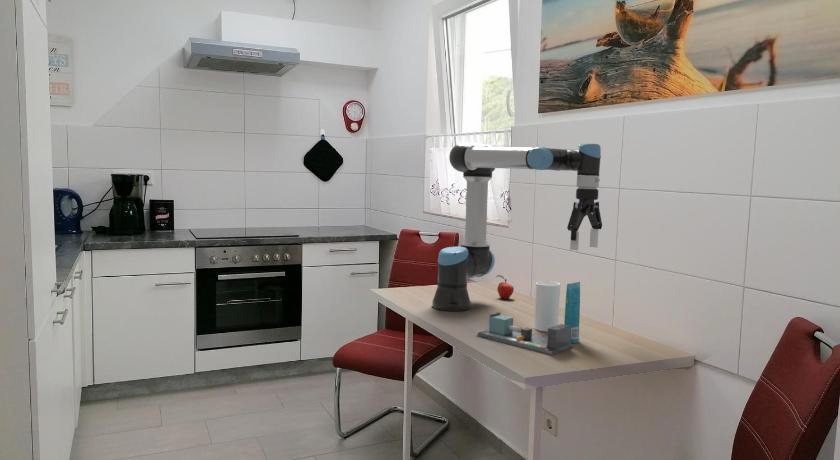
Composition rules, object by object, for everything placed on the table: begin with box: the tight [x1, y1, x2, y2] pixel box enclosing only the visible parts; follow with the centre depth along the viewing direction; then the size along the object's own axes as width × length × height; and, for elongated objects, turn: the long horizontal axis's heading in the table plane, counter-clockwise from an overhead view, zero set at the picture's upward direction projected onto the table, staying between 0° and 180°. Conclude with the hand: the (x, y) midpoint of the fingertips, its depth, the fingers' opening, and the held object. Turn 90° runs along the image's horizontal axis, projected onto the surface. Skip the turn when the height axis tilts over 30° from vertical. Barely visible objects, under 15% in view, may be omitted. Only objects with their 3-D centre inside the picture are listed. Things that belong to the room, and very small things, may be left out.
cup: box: [533, 280, 561, 333], centre depth 214 cm, size 8×8×16 cm
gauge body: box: [488, 311, 524, 335], centre depth 202 cm, size 11×5×6 cm, turn 47°
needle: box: [516, 327, 533, 341], centre depth 196 cm, size 2×7×3 cm, turn 137°
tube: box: [563, 281, 581, 344], centre depth 199 cm, size 7×5×19 cm, turn 140°
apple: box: [495, 274, 515, 300], centre depth 263 cm, size 8×7×10 cm
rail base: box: [477, 323, 573, 356], centre depth 198 cm, size 28×12×7 cm, turn 47°
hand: (584, 248), depth 218 cm, fingers open, 13 cm apart
